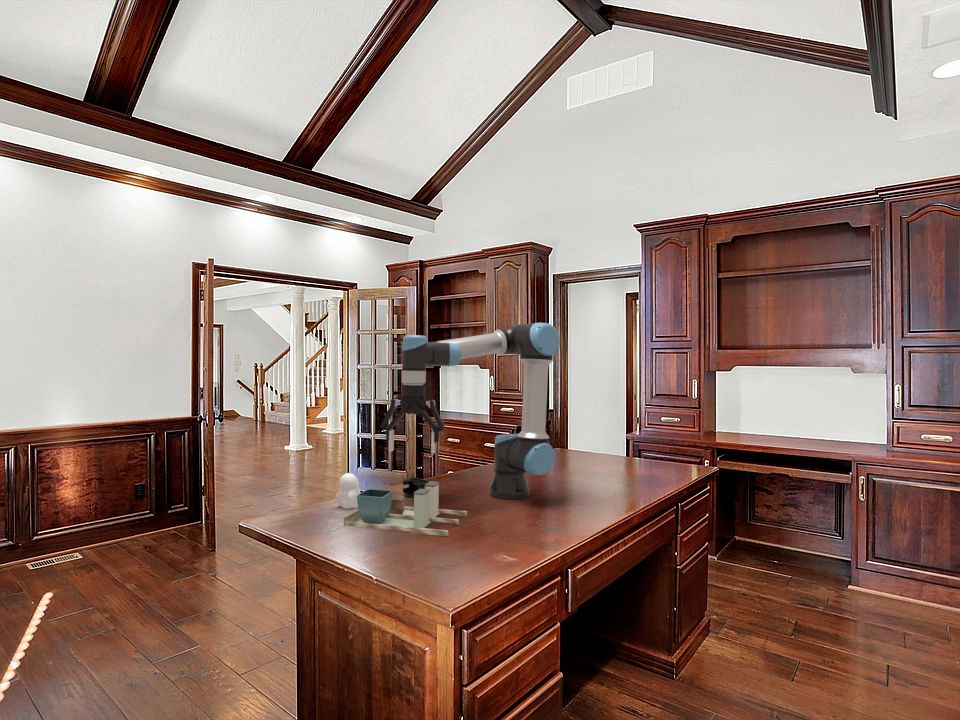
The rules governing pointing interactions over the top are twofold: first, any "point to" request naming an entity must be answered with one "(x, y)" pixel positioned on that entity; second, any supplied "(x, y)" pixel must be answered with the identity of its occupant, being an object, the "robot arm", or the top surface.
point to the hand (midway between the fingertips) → (412, 452)
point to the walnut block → (397, 505)
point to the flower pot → (374, 505)
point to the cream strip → (430, 499)
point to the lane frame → (355, 515)
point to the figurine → (348, 491)
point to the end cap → (413, 486)
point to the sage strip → (419, 512)
